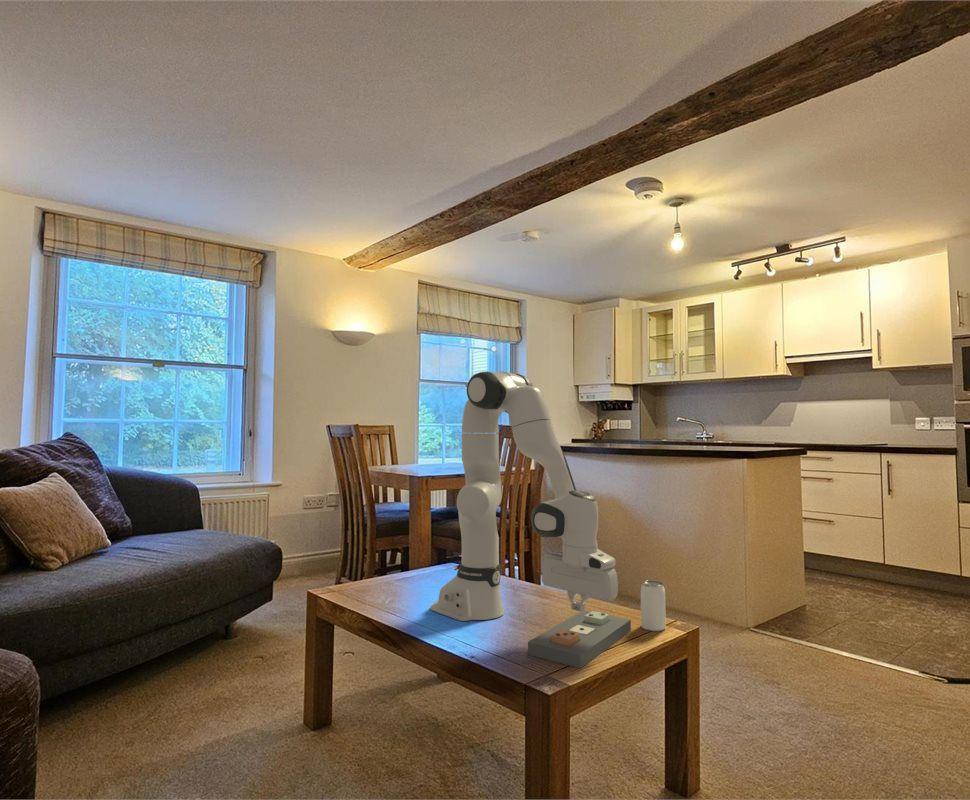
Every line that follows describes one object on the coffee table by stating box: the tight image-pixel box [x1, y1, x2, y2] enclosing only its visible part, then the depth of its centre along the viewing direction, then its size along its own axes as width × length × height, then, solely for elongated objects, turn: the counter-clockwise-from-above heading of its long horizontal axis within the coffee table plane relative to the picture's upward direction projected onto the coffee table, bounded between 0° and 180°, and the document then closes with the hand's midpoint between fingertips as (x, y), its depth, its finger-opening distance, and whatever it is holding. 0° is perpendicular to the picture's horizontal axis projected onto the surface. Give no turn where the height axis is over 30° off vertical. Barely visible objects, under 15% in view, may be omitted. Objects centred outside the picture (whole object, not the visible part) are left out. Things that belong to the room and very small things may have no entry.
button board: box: [527, 609, 632, 669], centre depth 150 cm, size 14×30×3 cm, turn 144°
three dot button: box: [551, 630, 579, 647], centre depth 142 cm, size 5×5×3 cm
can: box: [640, 580, 667, 632], centre depth 161 cm, size 6×6×12 cm
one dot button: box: [569, 625, 595, 636], centre depth 150 cm, size 5×5×3 cm
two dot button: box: [584, 610, 611, 626], centre depth 157 cm, size 5×5×3 cm
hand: (577, 610), depth 150 cm, fingers closed
